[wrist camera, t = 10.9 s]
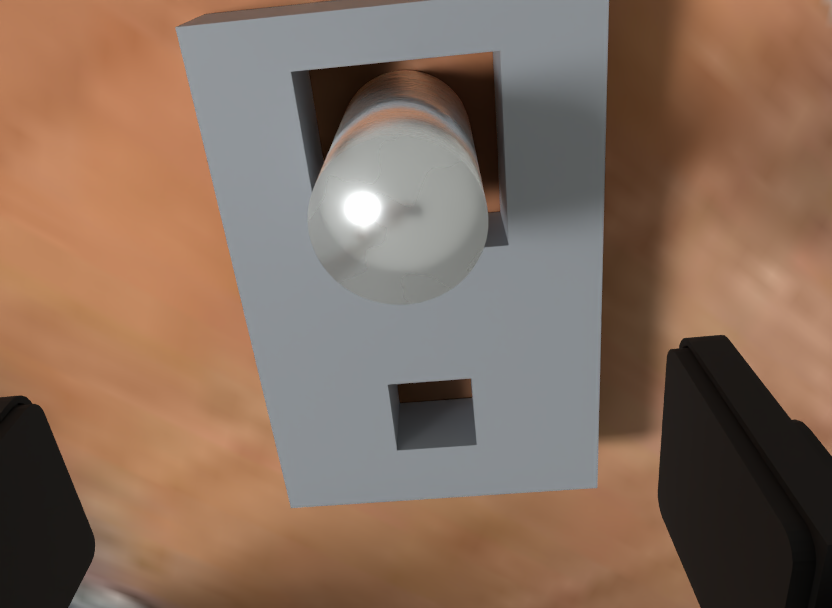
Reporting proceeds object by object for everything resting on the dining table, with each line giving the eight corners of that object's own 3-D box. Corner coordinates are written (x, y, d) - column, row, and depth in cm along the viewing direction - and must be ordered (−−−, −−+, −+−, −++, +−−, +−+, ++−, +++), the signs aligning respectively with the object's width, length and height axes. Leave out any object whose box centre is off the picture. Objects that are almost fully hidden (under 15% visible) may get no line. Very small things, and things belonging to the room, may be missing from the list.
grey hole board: (582, 438, 31) (597, 487, 28) (302, 457, 31) (291, 507, 29) (587, -27, 22) (609, -19, 20) (204, 14, 23) (175, 27, 20)
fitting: (474, 192, 26) (492, 297, 19) (351, 203, 26) (323, 310, 19) (466, 63, 24) (483, 126, 16) (332, 77, 24) (293, 144, 17)
